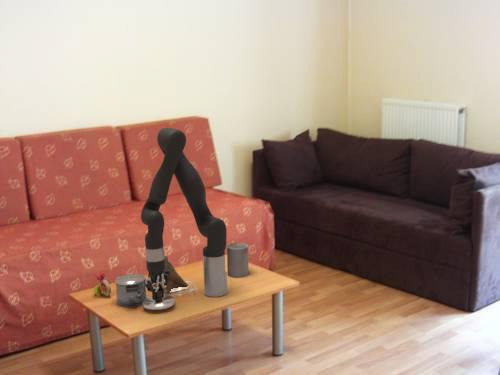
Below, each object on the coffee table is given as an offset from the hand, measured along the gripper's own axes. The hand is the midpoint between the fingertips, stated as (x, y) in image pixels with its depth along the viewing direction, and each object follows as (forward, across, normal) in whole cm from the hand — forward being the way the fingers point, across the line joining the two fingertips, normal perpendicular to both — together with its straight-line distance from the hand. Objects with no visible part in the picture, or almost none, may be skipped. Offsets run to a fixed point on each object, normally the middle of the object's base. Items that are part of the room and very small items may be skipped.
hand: (158, 298), depth 286 cm
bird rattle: (+4, 0, -30) cm, 30 cm away
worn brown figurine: (+5, -19, -7) cm, 21 cm away
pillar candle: (+5, -49, +5) cm, 50 cm away
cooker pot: (+4, 0, -14) cm, 15 cm away
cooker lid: (+2, 0, 0) cm, 2 cm away
